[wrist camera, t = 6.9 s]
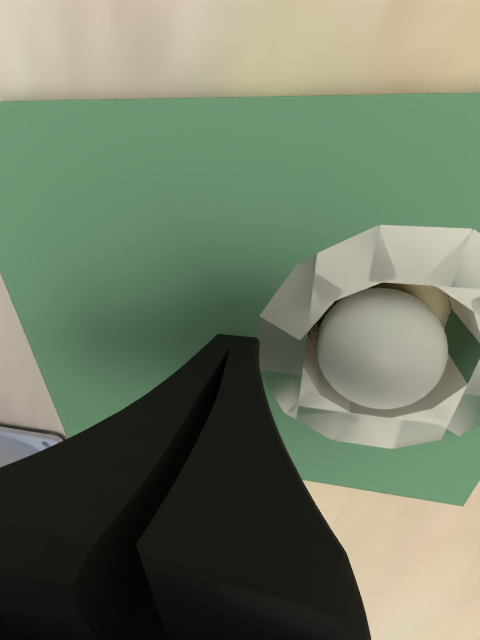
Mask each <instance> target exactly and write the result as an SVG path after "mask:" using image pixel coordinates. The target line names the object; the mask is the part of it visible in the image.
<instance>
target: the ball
mask: <svg viewBox="0 0 480 640" xmlns="http://www.w3.org/2000/svg"><path fill="white" fill-rule="evenodd" d="M316 353H317V359H318V363H319V366H320V368H321V370H322V373H323V375H324V376H325V378H326V379H327V381H328V382H329V384H330V385H331V386H332V387H333V388H334V389H335V390H336V391H337V392H338V393H340V394H341V395H342V396H343V397H345V398H347V399H348V400H350V401H352V402H354V403H356V404H359V405H362V406H365V407H369V408H375V409H395V408H399V407H403V406H407V405H410V404H412V403H414V402H416V401H418V400H419V399H421V398H423V397H424V396H426V395H427V394H428V393H429V392H430V391H431V390H432V389H433V388H434V387H435V386H436V384H437V383H438V382H439V380H440V378H441V377H442V375H443V373H444V370H445V367H446V363H447V358H448V344H447V338H446V334H445V331H444V329H443V326H442V324H441V322H440V321H439V319H438V317H437V316H436V315H435V313H434V312H433V311H432V310H431V309H430V308H429V307H428V306H427V305H426V304H424V303H423V302H422V301H420V300H419V299H417V298H416V297H414V296H412V295H410V294H408V293H405V292H402V291H399V290H395V289H389V288H371V289H365V290H361V291H359V292H356V293H354V294H351V295H349V296H347V297H345V298H343V299H342V300H340V301H339V302H337V303H336V304H335V305H334V306H333V307H332V308H331V309H330V310H329V312H328V313H327V314H326V316H325V317H324V319H323V321H322V323H321V325H320V328H319V330H318V335H317V340H316Z"/></svg>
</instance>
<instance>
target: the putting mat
mask: <svg viewBox="0 0 480 640" xmlns="http://www.w3.org/2000/svg"><path fill="white" fill-rule="evenodd" d="M0 273H1V276H2V278H3V281H4V283H5V285H6V288H7V290H8V293H9V295H10V298H11V300H12V303H13V305H14V308H15V310H16V312H17V315H18V317H19V320H20V322H21V325H22V327H23V330H24V332H25V335H26V337H27V339H28V342H29V344H30V347H31V349H32V352H33V354H34V357H35V359H36V362H37V364H38V366H39V369H40V371H41V374H42V376H43V379H44V381H45V384H46V386H47V389H48V391H49V393H50V396H51V398H52V401H53V403H54V406H55V408H56V411H57V413H58V416H59V418H60V420H61V423H62V425H63V428H64V430H65V433H66V435H67V438H70V437H72V436H74V435H76V434H78V433H80V432H82V431H84V430H86V429H88V428H90V427H92V426H93V425H95V424H97V423H99V422H101V421H102V420H104V419H106V418H108V417H110V416H111V415H113V414H115V413H117V412H119V411H120V410H122V409H124V408H125V407H127V406H129V405H130V404H132V403H133V402H135V401H136V400H138V399H139V398H141V397H143V396H144V395H145V394H147V393H148V392H150V391H151V390H153V389H154V388H155V387H157V386H158V385H159V384H160V383H162V382H163V381H164V380H166V379H167V378H168V377H169V376H171V375H172V374H173V373H175V372H176V371H177V370H178V369H179V368H180V367H182V366H183V365H184V364H185V363H186V362H187V361H189V360H190V359H191V358H192V357H193V356H194V355H195V354H196V353H198V352H199V351H200V350H201V349H202V348H203V347H204V346H205V345H206V344H207V343H208V342H209V341H210V340H211V339H213V338H214V337H215V336H216V335H217V334H226V335H236V336H246V337H256V338H257V339H258V340H259V341H260V348H259V367H260V372H261V377H262V382H263V386H264V390H265V394H266V397H267V400H268V404H269V407H270V410H271V413H272V415H273V418H274V421H275V423H276V426H277V428H278V431H279V433H280V436H281V438H282V440H283V443H284V445H285V447H286V449H287V452H288V453H289V455H290V457H291V459H292V461H293V463H294V465H295V467H296V469H297V471H298V473H299V475H300V477H301V479H302V480H307V481H313V482H319V483H325V484H331V485H337V486H343V487H349V488H355V489H361V490H367V491H373V492H379V493H385V494H391V495H398V496H404V497H410V498H416V499H422V500H428V501H434V502H440V503H446V504H452V505H458V506H464V504H465V503H466V501H467V500H468V498H469V496H470V495H471V493H472V491H473V490H474V488H475V487H476V485H477V483H478V482H479V480H480V93H437V94H383V95H329V96H275V97H221V98H167V99H113V100H58V101H4V102H0ZM382 282H385V283H400V284H414V285H429V286H436V287H438V288H439V289H441V290H442V291H444V292H445V293H447V294H448V297H449V300H450V303H451V306H452V309H453V310H452V312H451V315H450V317H449V320H448V323H447V325H446V328H445V334H446V338H447V344H448V358H447V363H446V367H445V370H444V373H443V375H442V377H441V378H440V380H439V382H438V383H437V384H436V386H435V387H434V388H433V389H432V390H431V391H430V392H429V393H428V394H427V395H426V396H424V397H423V398H421V399H419V400H418V401H416V402H414V403H412V404H410V405H407V406H403V407H399V408H395V409H375V408H369V407H365V406H362V405H359V404H356V403H354V402H352V401H350V400H348V399H347V398H345V397H343V396H342V395H341V394H340V393H338V392H337V391H336V390H335V389H334V388H333V387H332V386H331V385H330V384H329V382H328V381H327V379H326V378H325V376H324V375H323V373H322V370H321V368H320V366H319V363H318V359H317V353H316V350H315V348H314V346H313V344H312V342H311V340H310V339H309V337H308V335H307V332H308V331H309V330H310V329H311V328H312V326H313V325H314V324H315V323H316V322H317V321H318V320H319V318H320V317H321V316H322V315H323V314H324V313H325V312H326V311H327V309H328V308H329V307H330V306H331V305H332V304H333V303H334V301H336V300H338V299H341V298H343V297H346V296H349V295H351V294H354V293H356V292H359V291H361V290H364V289H367V288H369V287H372V286H374V285H377V284H379V283H382Z"/></svg>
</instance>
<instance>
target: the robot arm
mask: <svg viewBox="0 0 480 640" xmlns="http://www.w3.org/2000/svg"><path fill="white" fill-rule="evenodd" d="M259 348H260V341H259V340H258V339H257V338H256V337H246V336H236V335H226V334H217V335H216V336H215V337H214V338H213V339H211V340H210V341H209V342H208V343H207V344H206V345H205V346H204V347H203V348H202V349H201V350H200V351H199V352H198V353H196V354H195V355H194V356H193V357H192V358H191V359H190V360H189V361H187V362H186V363H185V364H184V365H183V366H182V367H180V368H179V369H178V370H177V371H176V372H175V373H173V374H172V375H171V376H169V377H168V378H167V379H166V380H164V381H163V382H162V383H160V384H159V385H158V386H157V387H155V388H154V389H153V390H151V391H150V392H148V393H147V394H145V395H144V396H143V397H141V398H139V399H138V400H136V401H135V402H133V403H132V404H130V405H129V406H127V407H125V408H124V409H122V410H120V411H119V412H117V413H115V414H113V415H111V416H110V417H108V418H106V419H104V420H102V421H101V422H99V423H97V424H95V425H93V426H92V427H90V428H88V429H86V430H84V431H82V432H80V433H78V434H76V435H74V436H72V437H70V438H68V439H66V440H64V441H63V440H62V439H61V438H60V437H58V436H55V435H50V434H43V433H37V432H31V431H25V430H19V429H13V428H7V427H1V426H0V640H371V635H370V631H369V626H368V621H367V617H366V613H365V609H364V605H363V602H362V598H361V595H360V592H359V589H358V585H357V582H356V579H355V576H354V574H353V571H352V568H351V565H350V562H349V559H348V556H347V553H346V551H345V550H344V548H343V547H342V545H341V544H340V542H339V541H338V539H337V537H336V536H335V534H334V533H333V531H332V530H331V528H330V527H329V525H328V523H327V522H326V520H325V519H324V517H323V515H322V514H321V512H320V511H319V509H318V507H317V506H316V504H315V502H314V500H313V499H312V497H311V495H310V493H309V492H308V490H307V488H306V486H305V485H304V483H303V481H302V479H301V477H300V475H299V473H298V471H297V469H296V467H295V465H294V463H293V461H292V459H291V457H290V455H289V453H288V452H287V449H286V447H285V445H284V443H283V440H282V438H281V436H280V433H279V431H278V428H277V426H276V423H275V421H274V418H273V415H272V413H271V410H270V407H269V404H268V400H267V397H266V394H265V390H264V386H263V382H262V377H261V372H260V367H259Z"/></svg>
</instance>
